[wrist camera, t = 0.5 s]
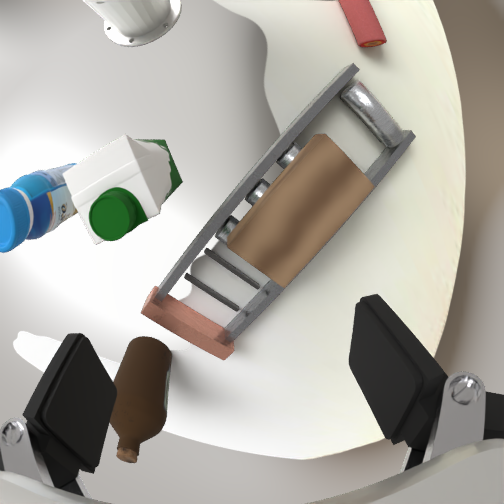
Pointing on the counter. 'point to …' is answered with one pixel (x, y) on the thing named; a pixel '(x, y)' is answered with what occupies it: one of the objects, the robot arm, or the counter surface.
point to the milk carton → (122, 186)
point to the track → (198, 326)
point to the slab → (300, 210)
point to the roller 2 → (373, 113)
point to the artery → (363, 22)
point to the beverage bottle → (34, 206)
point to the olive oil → (141, 395)
